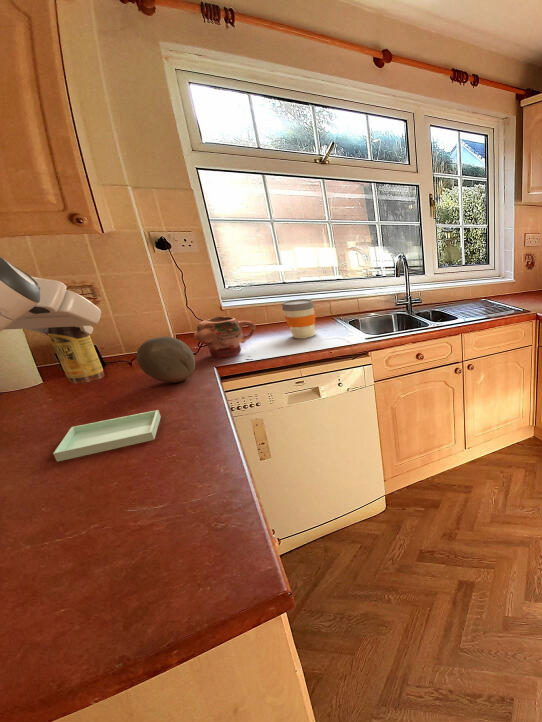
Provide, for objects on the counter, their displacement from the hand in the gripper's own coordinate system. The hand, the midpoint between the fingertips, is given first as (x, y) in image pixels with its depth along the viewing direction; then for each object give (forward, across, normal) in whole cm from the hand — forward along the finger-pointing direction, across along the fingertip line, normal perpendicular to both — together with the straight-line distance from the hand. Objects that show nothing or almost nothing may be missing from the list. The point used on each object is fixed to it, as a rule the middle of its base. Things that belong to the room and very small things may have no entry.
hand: (71, 332), depth 94 cm
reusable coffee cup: (+82, +16, +45) cm, 95 cm away
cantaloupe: (+44, -7, +7) cm, 45 cm away
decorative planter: (+65, -4, +29) cm, 71 cm away
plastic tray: (+17, +1, -19) cm, 26 cm away
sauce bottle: (+8, 0, -9) cm, 12 cm away
